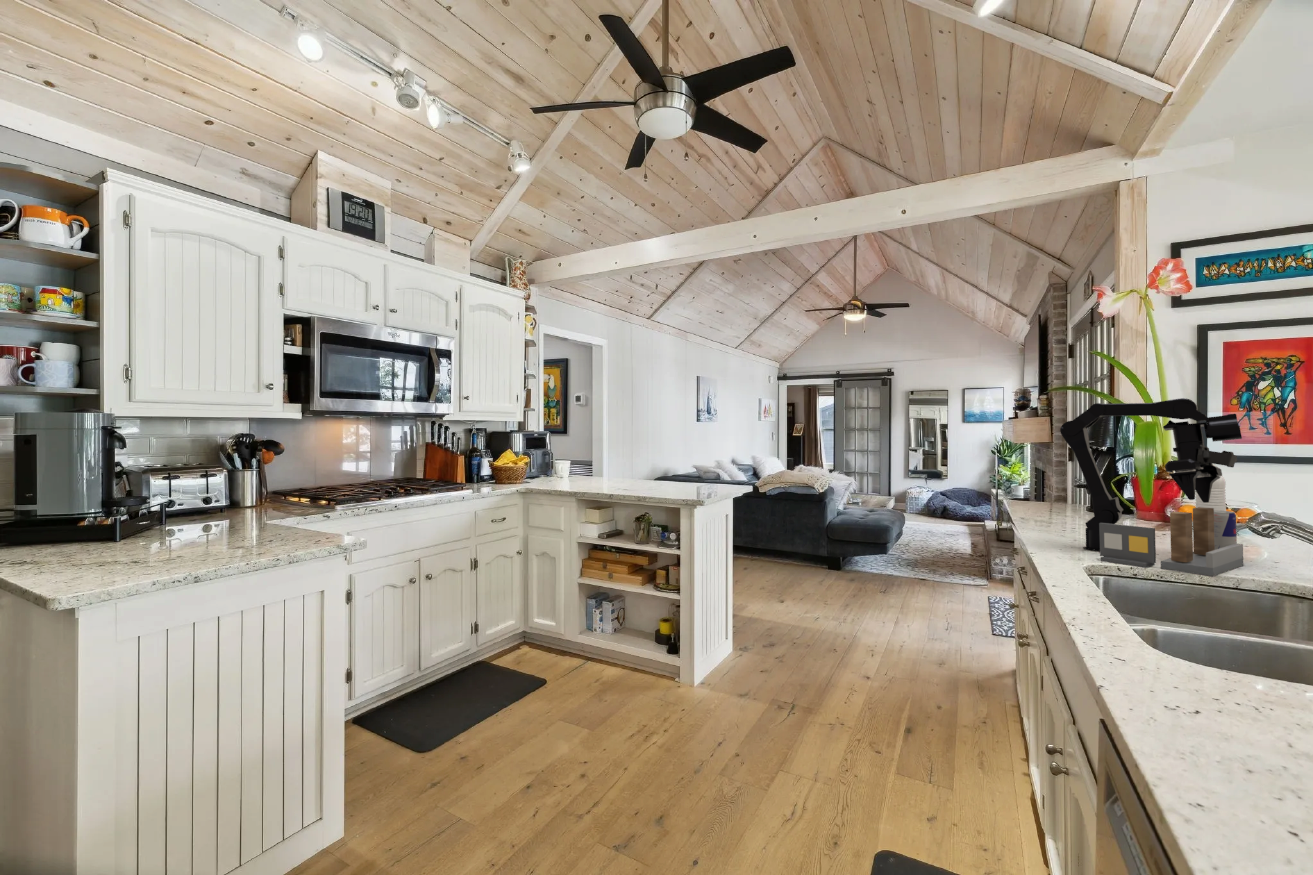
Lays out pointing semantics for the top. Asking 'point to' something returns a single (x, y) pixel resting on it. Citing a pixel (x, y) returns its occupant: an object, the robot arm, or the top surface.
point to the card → (1127, 545)
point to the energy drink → (1224, 529)
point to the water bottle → (1214, 496)
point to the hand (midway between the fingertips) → (1199, 501)
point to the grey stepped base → (1209, 561)
